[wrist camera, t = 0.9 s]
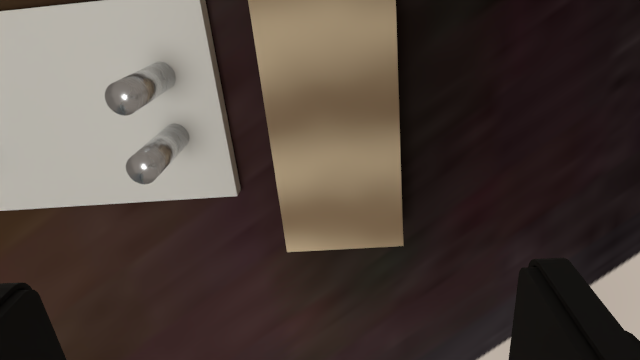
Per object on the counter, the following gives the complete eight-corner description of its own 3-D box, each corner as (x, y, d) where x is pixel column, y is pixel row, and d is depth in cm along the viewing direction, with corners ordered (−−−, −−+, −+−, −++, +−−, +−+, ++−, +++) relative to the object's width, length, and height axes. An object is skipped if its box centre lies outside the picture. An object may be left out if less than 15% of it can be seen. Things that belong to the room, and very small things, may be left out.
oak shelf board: (250, -79, 24) (234, -87, 20) (386, -96, 23) (392, -106, 20) (293, 223, 31) (287, 252, 28) (397, 216, 30) (403, 245, 27)
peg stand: (203, -11, 25) (162, -5, 19) (240, 189, 30) (216, 238, 24) (-115, 23, 26) (-235, 37, 21) (-30, 206, 31) (-109, 255, 26)
